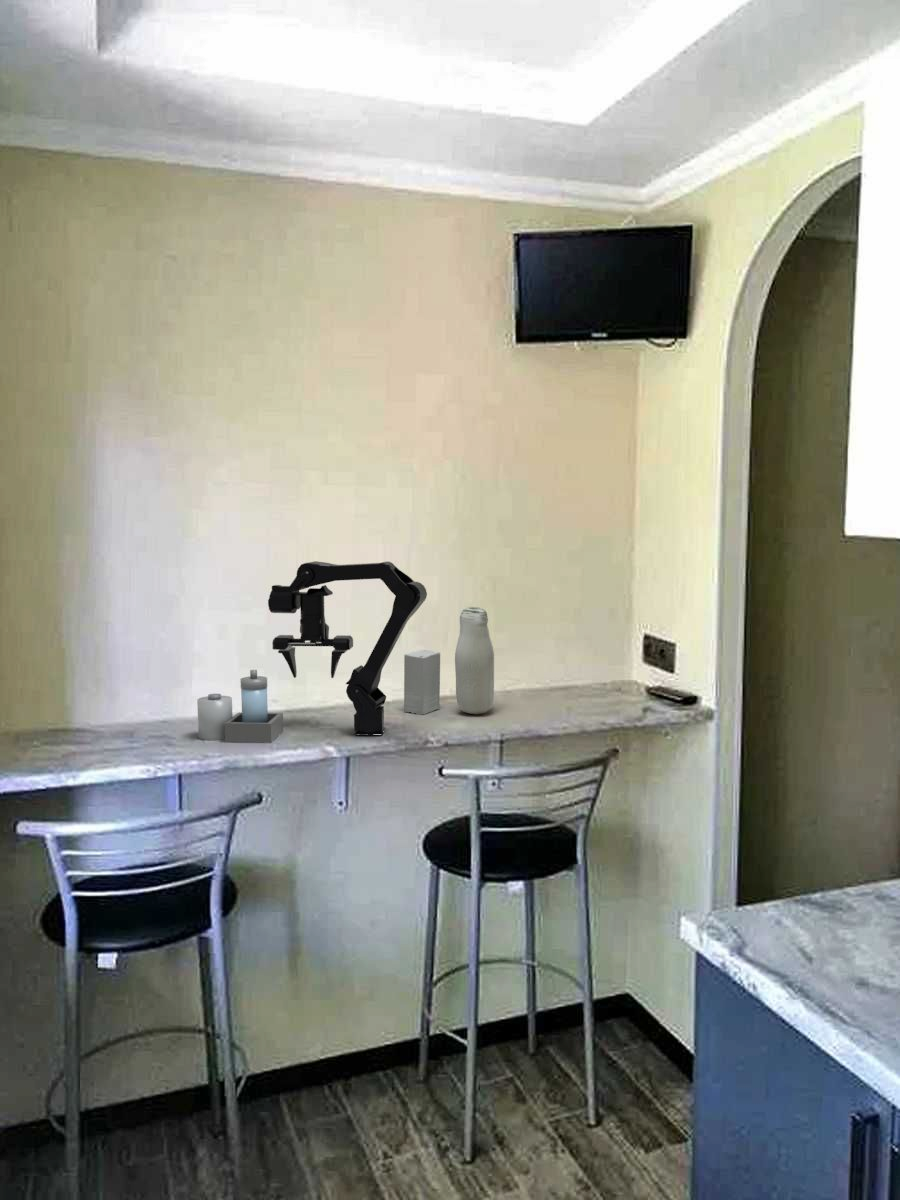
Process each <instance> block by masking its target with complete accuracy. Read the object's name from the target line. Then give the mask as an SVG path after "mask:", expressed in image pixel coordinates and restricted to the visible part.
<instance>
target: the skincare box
mask: <svg viewBox="0 0 900 1200" xmlns="http://www.w3.org/2000/svg"><path fill="white" fill-rule="evenodd" d="M403 659H404V660H403V661H404V662H403V663H404V665H403V666H404V672H403V673H404V674H403V675H404V678H403V679H404V680H403V681H404V682H403V686H404V687H403V691H404V692H403V702H404V703H403V711H405V712H404V713H409V712H411V713H410V714H414V713H416V714H415V715H420V714H424V715H426V714H429V713H432V712H434V711H436V710H440V698H441V696H440V695H441V693H440V692H441V691H440V690H441V687H440V686H441V652H439V651H434V650H430V649H429V650H427V649H419V650H416V651H413V652H409V653H406V654H404V658H403Z"/></svg>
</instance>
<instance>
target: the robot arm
mask: <svg viewBox="0 0 900 1200" xmlns="http://www.w3.org/2000/svg"><path fill="white" fill-rule="evenodd" d="M376 579H377V580H378V579H379V580H381V582H383V584H385V586H386V587H387V589H388V590H389V591H390V592H391V593H392V594H393V595H394V599H393V600H394V601H393V605H392V610H391V615H390V617H389V619H388V621H387V623H386V624H385V626H384V628H383V631H382V632H381V635H379V638H378V640H377V641H376V644H375V645H374V647H373V649H372V651H371V653H370V655H369V657H368V658H367V660H366V662H365V664H364V665H362V664H360V665H359V666H357V667H355V668H353V669H352V671H351V676H350V678H349V679H348V680H347V682H345V685H347V686H346V690H345V692H346V696H347V698H348V699H349V701H351V702H352V705H353V707H354V710H355V713H354V714H353V724H354V726H353V728H354V729H353V731H354V732H355V733H354V735H355V734H368V735H367V736H374V735H373V734H382V733H383V731H384V730H385V731H386V727H385V707H384V706H383V705H384V704H385V702H386V700H387V696H386V694H385V693H384V692H383V691H382V690H381V689H380V688H379V685H380V682H381V677H382V670H383V668H384V666H385V664H386V662H387V661H388V659H389V657H390V655H391V653H392V652H393V650H394V648H395V645H396V644H397V641H398V640H399V638H400V636H401V634H402V632H403V630H404V628H405V627H406V625H407V623H408V621H409V620H410V619H411V618H412V617H413V616H414V614H416V612H417V611H418V609H420V607H421V606H422V605H423V604H424V602H425V601H426V600H427V597H428V592H427V588H426V587H425V586H424V585H423V583H421V582H419V581H415V580H414V579H412V578H411V577H410V576H409V575H408V574H406V573H404V572H403V571H402V570H401V569H399V568H398V567H397V566H396V565H395V564H394V563H393V562H391V561H383V562H372V563H352V564H350V563H349V564H335V563H330V562H324V561H311V562H305V563H301V564H300V566H299V567H298V568H297V570H296V576H295V578H294V579H293V581H292V582H291V584H290V585H281V584H274V585H272V586H271V591H270V593H269V597H268V600H267V602H268V603H267V605H268V609H269V611H270V613H271V614H295V613H297V611H298V610H300V619H299V623H300V625H299V633H300V638H295V637H294V635H293V634H278V635H277V636H275V637H274V638H273V640H272V650H277V653H278V654H282V656H283V658H284V660H285V661H286V663H287V664H288V667H289V670H290V672H291V675H292V677H293V678H294V679H296V678H297V675H298V674H297V673H298V672H297V671H298V670H297V664H296V663H297V662H296V647H332V648H333V650H332V651H331V662H330V677H331V679H334V677H335V675H336V671H337V667H338V665H339V662H340V659H341V657H342V655H343V654H345V653H346V652H347V651H350V650H351V649H352V648H353V647H354V638H353V637H352V636H351V635H341V634H340V635H336V636H334V637H333V638H329V634H330V633H329V632H330V626H329V625H328V624H327V622H326V616H325V597H329V596H332V595H333V591H332V590H330V589H329V587H328V586H327V585H325V584H326V583H331V582H336V581H355V580H357V581H358V580H359V581H360V580H361V581H362V580H376ZM323 584H324V585H323ZM319 585H321V587H319V588H316V587H315V586H319ZM311 587H312V588H311ZM314 587H315V588H314ZM308 588H309V589H308ZM306 589H307V591H306V592H305V591H301V590H306ZM385 731H384V732H385ZM383 734H384V733H383ZM383 734H382V735H383Z"/></svg>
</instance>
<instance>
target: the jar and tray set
mask: <svg viewBox="0 0 900 1200" xmlns="http://www.w3.org/2000/svg"><path fill="white" fill-rule="evenodd" d="M197 725H198V726H197V729H198V733H197V734H198V739H200V740H202V739H204V740H203V741H220V739H222V740H224V742H225V743H248V742H272V741H273V740H274V739H275V738H276V737H277V736H278V735H279V734H280V735H281V734H282V733H283V732H284V713H282V712H268V723H247V722H242V712H238V713H236V714H234V715H233V697H232V696H228V695H222V694H221V693H210V694H208V695H207V696H202V697H199V698H198V699H197ZM280 735H279V736H280ZM279 736H278V737H279ZM278 737H277V738H278ZM277 738H276V739H277ZM276 739H275V740H276ZM275 740H274V741H275ZM274 741H273V742H274ZM273 742H272V743H273Z"/></svg>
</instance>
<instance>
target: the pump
mask: <svg viewBox="0 0 900 1200" xmlns="http://www.w3.org/2000/svg"><path fill="white" fill-rule="evenodd" d="M249 673H250V675H249V676H245V677H240V681H239V682H240V691H241V692H240V693H241V713H242V722H247V723H268V713H269V711H268V710H269V709H268V708H269V707H268V677H266V676H261V675H258V669H250V670H249Z"/></svg>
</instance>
